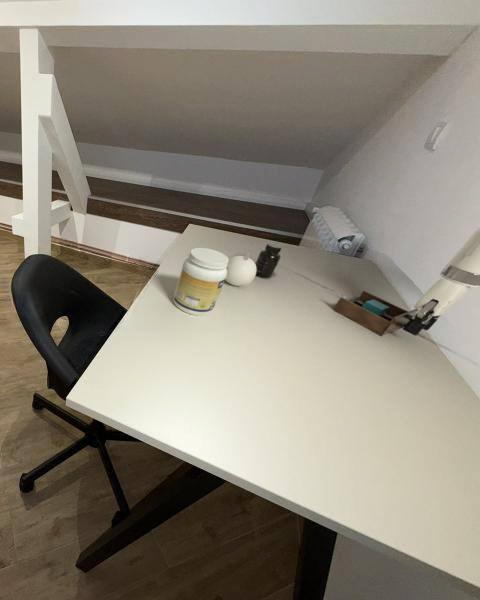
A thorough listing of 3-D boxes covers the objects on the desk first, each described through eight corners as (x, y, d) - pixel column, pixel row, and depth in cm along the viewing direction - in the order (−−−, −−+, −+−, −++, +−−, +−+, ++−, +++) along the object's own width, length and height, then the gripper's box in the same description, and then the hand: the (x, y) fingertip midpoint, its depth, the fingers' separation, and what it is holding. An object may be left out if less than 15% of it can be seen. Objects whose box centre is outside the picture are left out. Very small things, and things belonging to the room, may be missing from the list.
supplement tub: (214, 320, 90) (236, 268, 80) (172, 311, 91) (188, 260, 82) (210, 298, 100) (229, 250, 90) (171, 291, 101) (186, 243, 92)
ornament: (251, 294, 105) (266, 262, 98) (219, 287, 107) (232, 255, 100) (247, 280, 113) (260, 250, 106) (217, 274, 115) (229, 244, 108)
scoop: (422, 335, 93) (439, 317, 89) (399, 346, 87) (416, 327, 83) (356, 302, 106) (368, 284, 103) (332, 309, 101) (344, 291, 97)
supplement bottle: (259, 269, 122) (272, 240, 115) (274, 277, 117) (289, 248, 110) (247, 271, 119) (260, 242, 112) (262, 280, 114) (277, 250, 107)
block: (380, 318, 97) (389, 307, 95) (372, 321, 96) (382, 309, 93) (364, 310, 101) (373, 299, 98) (357, 313, 99) (365, 301, 96)
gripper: (458, 264, 85) (413, 316, 95) (429, 272, 78) (384, 328, 88) (496, 277, 80) (444, 331, 90) (469, 287, 73) (416, 344, 83)
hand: (415, 329), depth 89 cm, fingers closed on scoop, 6 cm apart
